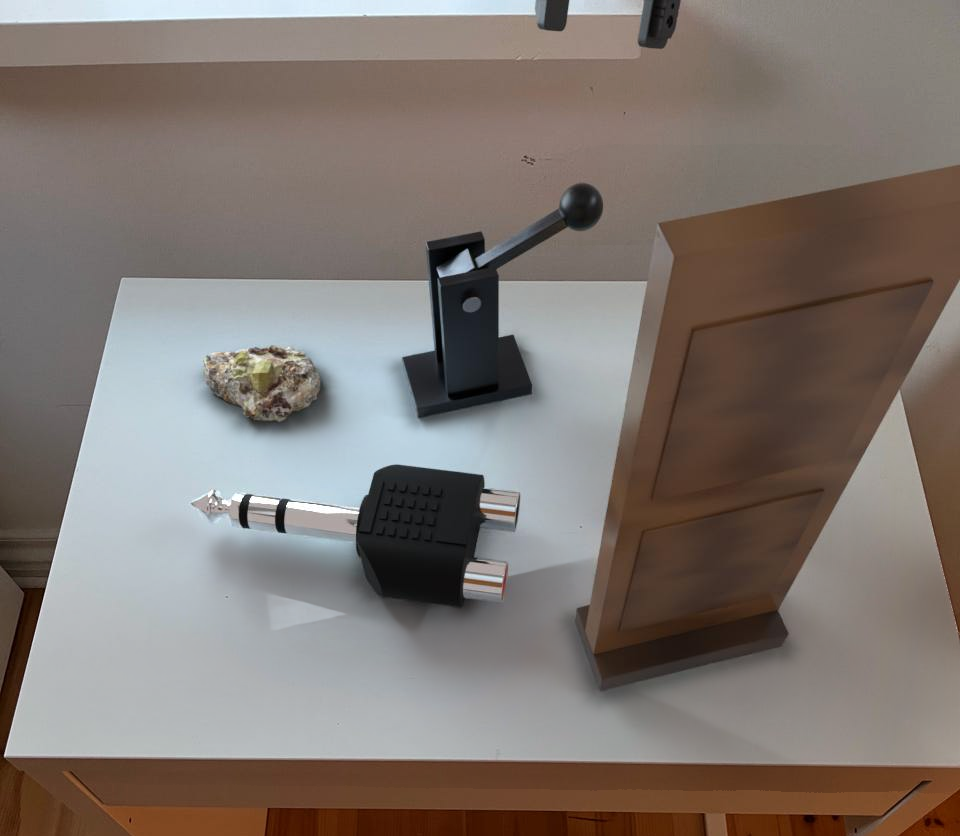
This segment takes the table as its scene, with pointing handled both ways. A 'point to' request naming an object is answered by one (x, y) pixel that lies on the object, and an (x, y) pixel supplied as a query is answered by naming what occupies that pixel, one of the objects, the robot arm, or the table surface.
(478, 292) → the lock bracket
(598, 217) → the lever
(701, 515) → the door
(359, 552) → the audio adapter
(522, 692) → the table surface
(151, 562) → the table surface
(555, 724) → the table surface
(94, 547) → the table surface
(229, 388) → the mineral rock
